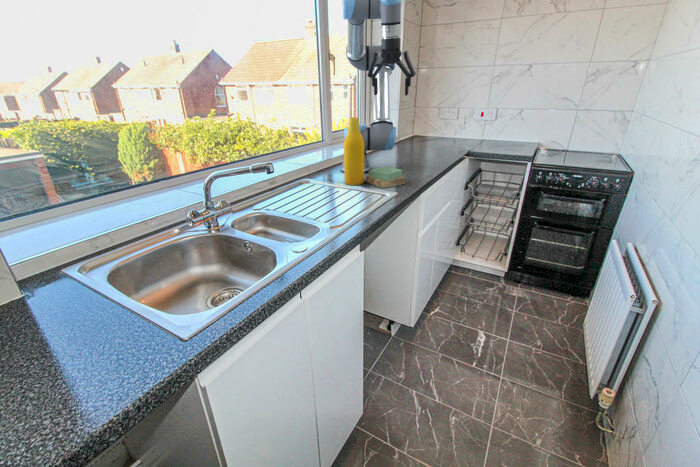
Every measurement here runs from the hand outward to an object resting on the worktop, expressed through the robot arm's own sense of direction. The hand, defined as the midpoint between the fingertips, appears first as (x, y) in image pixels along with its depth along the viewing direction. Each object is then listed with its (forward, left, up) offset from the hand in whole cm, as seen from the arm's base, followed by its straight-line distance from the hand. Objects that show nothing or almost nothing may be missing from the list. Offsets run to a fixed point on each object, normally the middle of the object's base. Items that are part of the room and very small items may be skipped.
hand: (391, 94), depth 142 cm
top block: (+3, -4, -35) cm, 35 cm away
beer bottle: (-5, -16, -38) cm, 41 cm away
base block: (+3, -4, -38) cm, 38 cm away
